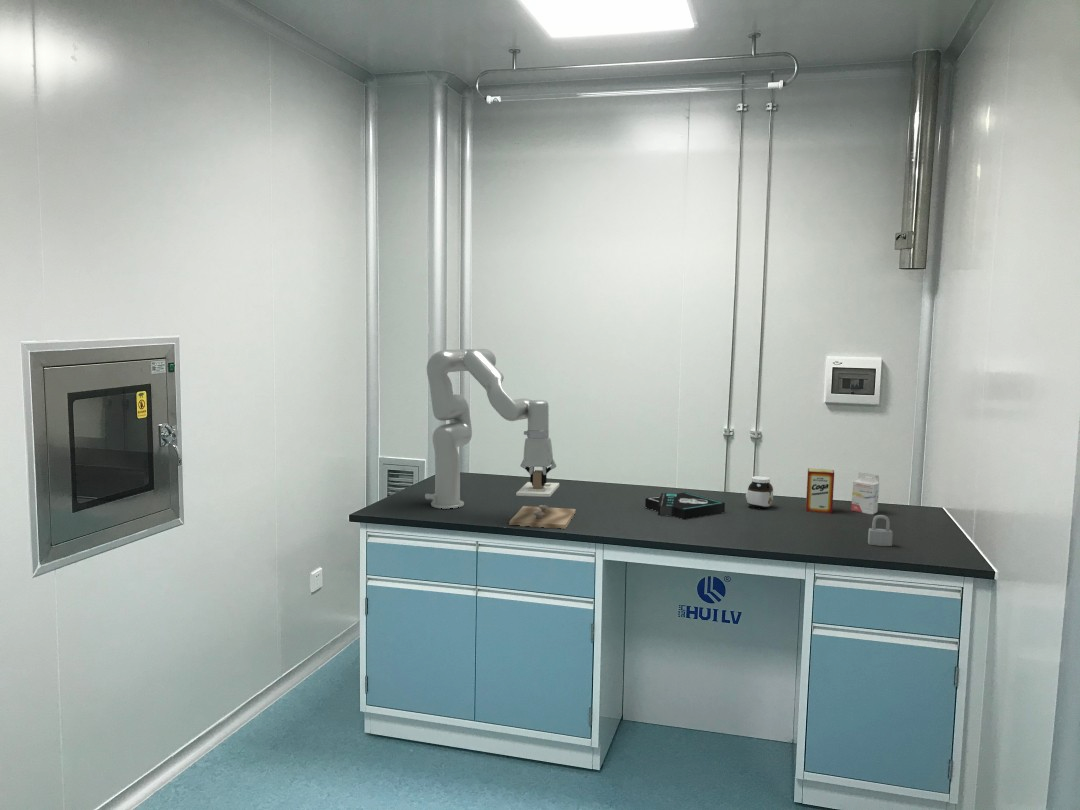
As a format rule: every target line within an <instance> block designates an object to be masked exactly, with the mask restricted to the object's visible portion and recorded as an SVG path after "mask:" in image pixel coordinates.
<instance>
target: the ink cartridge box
mask: <svg viewBox="0 0 1080 810" xmlns="http://www.w3.org/2000/svg"><path fill="white" fill-rule="evenodd" d="M857 474H858V478H857V479H856V480H853V481H852V493H851V494H852V496H851V508H850V509H851V511H852V512H857V513H862V514H868V515H874V514H875V515H876V514H877V513H878V508H879V492H880V476H879V474H873V473H868V472H867V473H866V472H861V471H860V472H858V473H857Z"/></svg>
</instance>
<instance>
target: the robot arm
mask: <svg viewBox="0 0 1080 810" xmlns="http://www.w3.org/2000/svg"><path fill="white" fill-rule="evenodd" d="M496 362H497V359H496V356H495V353H494V352H492V350H490V349H487V348H477V349H476V348H475V349H473V348H472V349H471V348H469V349H467V348H466V349H465V348H463V349H462V348H461V349H458V348H457V349H443V350H439V351H437V352H435V353H433V355H431V356H430V357H429V359H428V362H427V364H426V374H427V375H426V377H427V380H428V384H429V385H428V386H429V390H430V393H429V394H430V398H431V399H430V401H431V407H432V413H433V416H434V418H435V419H436V420H437V421H440V422H442V421H443V422H445V421H449V423H446V424H442V425H439V426H437V427H436V428H435V429H434V431H433V433H432V445H433V450H434V467H435V468H434V477H435V478H434V488H435V489H434V493H425V495H424V498H425V500H427V501H428V500H431V502H430V505H431V507H432V508H435V509H441V508H442V509H444V510H446V509H447V510H448V509H449V510H451V509H450V508H453V509H459V508H462V507H463V506H464V504H465V502H464V501H463V500H461V460H460V459H461V458H460V454H459V451H458V448H459V447H463V446H466V445H468V444H469V443H470V441H471V440H472V435H473V430H472V421H471V415H470V414H471V413H470V408H469V404H468V401H467V399H465V397H464V396H463V395H460V394H454V392H453V384H452V381H451V377H449V375H448V373H458V372H469V374H470V375H471V376H472V377H473V378H474V379H475V380H476V381H477V382H478V384H479V385H481V387H483V389H484V390H485V391H486V392H485V393H486V397H487V399H488V401H489V404H490V405H491V407H492V408H493V409H494V410H495V411H496V412H497V414H499V416H501V418H503V419H504V420H505V421H508V422H515V421H521V420H526V419H527V430H525V431H523V435H524V436H526V437H527V438H525V441H524V446H523V459H522V462H521V463H520V465H519V466H520V467H521V468H523V469H524V470H526V472H528V474H529V477H530V478H529V480H530V481H529V482H530V483H532V486H533V472H534V471H535V467H536V468H541V470H543V473H542V486H544V485H545V483H548V479H547V474H549V472H551V471H552V470H553V469H556V468H557V464H556V463H555V460H554V457H553V447H552V440H551V437H549V433H550V431H549V430H550V429H549V421H550V420H549V419H550V418H549V416H550V415H549V411H550V409H549V403H548V401H547V400H542V399H536V400H534V399H533V400H532V399H528V398H518V399H512V398H511V397H510V396H508V394H507V393H506V392H505V391H504V389H503V386H502V383H503V382H504V375H503V373H502V372H501V371H500V370H499V369H498V368H497V366H496V364H497V363H496ZM458 507H459V508H458Z"/></svg>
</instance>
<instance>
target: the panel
mask: <svg viewBox="0 0 1080 810" xmlns="http://www.w3.org/2000/svg"><path fill="white" fill-rule="evenodd" d="M542 473H543V469H534V472H533V486H532V483H530V481H527V482H526V483H525V484H524V485H523V486H522V487H521V488H520V489H519V490H518V491H516V493H515V494H516V495H515V496H517V497H518V496H521V497H522V496H523V497H544V498H545V497H549V498H550V497H551V496H552V495H553V493H555V492H556V491H557V489H558V488H559V487H560V482H546V483H545V485H544V486H542Z"/></svg>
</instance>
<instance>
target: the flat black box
mask: <svg viewBox="0 0 1080 810" xmlns="http://www.w3.org/2000/svg"><path fill="white" fill-rule="evenodd" d="M725 504H726V503H725V502H723V501H719V500H715V499H712V498H707V497H704V496H701V495H697V494H694V493H689V492H679V493H665V492H661V494H660V495H659V496H651V497H647V498H645V507H647V508H649V509H648V510H650V509H653V510H652V511H654V510H656V511H655V512H657V511H658V513H657V516H659V515H668V516H667V517H674V516H675V517H674V518H677V517H679V518H678V519H680V518H682V519H681V520H687V519H686V518H690V519H693V518H692V517H695V518H700V517H699V516H701V517H705V515H707V516H712V515H711V514H713V515H717V514H716V513H719V514H723V513H722V512H724V513H725V511H726V507H725V506H726V505H725ZM645 507H644V508H645ZM647 508H646V509H647Z"/></svg>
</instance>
